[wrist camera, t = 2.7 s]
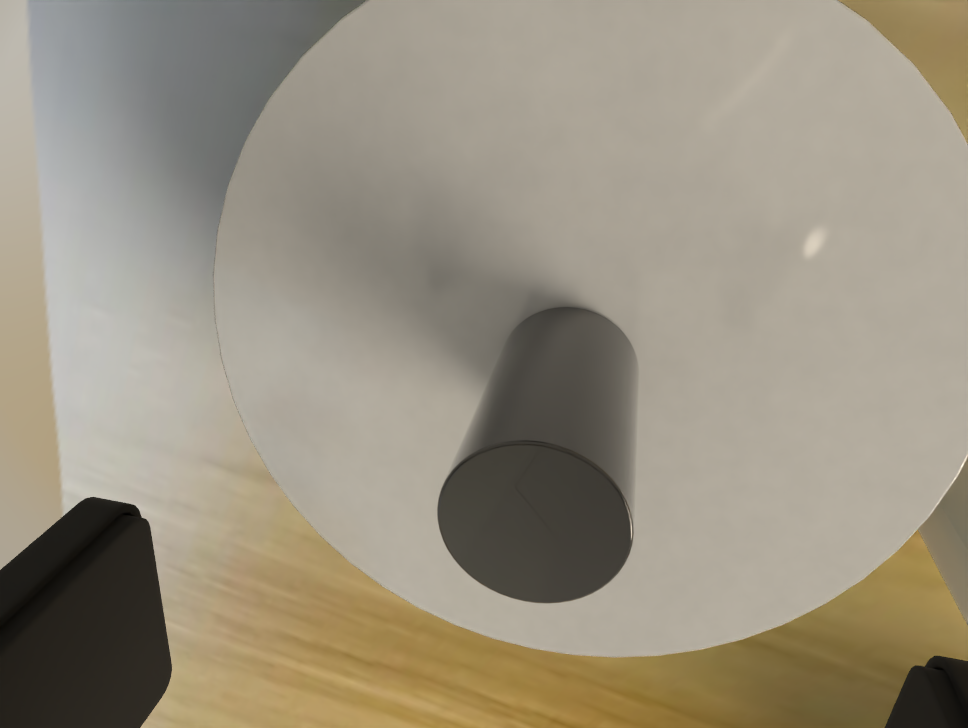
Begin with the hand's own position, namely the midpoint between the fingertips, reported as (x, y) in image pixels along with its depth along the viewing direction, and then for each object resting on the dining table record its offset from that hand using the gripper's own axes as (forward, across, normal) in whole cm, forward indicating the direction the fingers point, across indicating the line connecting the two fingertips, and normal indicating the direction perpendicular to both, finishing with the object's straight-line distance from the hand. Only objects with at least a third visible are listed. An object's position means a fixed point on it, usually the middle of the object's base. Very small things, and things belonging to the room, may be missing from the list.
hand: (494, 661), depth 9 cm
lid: (+8, 0, 0) cm, 8 cm away
